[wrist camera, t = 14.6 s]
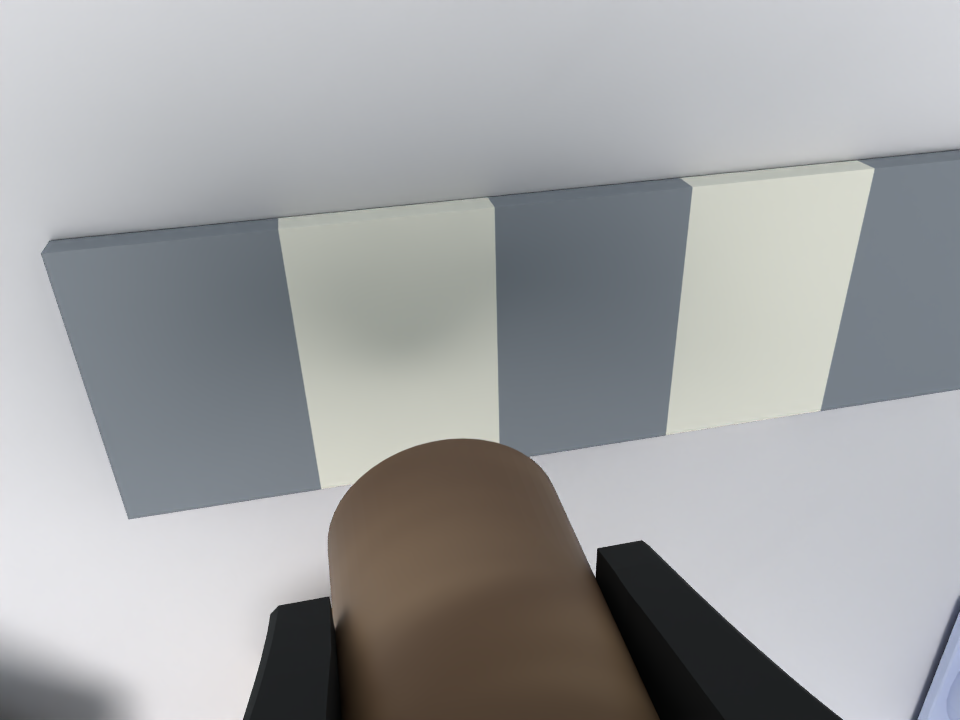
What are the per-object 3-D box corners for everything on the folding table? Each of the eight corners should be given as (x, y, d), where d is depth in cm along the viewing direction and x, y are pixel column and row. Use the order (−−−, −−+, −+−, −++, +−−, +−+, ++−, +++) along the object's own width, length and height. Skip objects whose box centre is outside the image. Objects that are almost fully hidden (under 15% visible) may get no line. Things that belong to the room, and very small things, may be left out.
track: (1173, 128, 18) (1198, 135, 18) (1080, 356, 21) (1099, 367, 21) (49, 241, 14) (41, 254, 14) (133, 500, 17) (128, 519, 17)
